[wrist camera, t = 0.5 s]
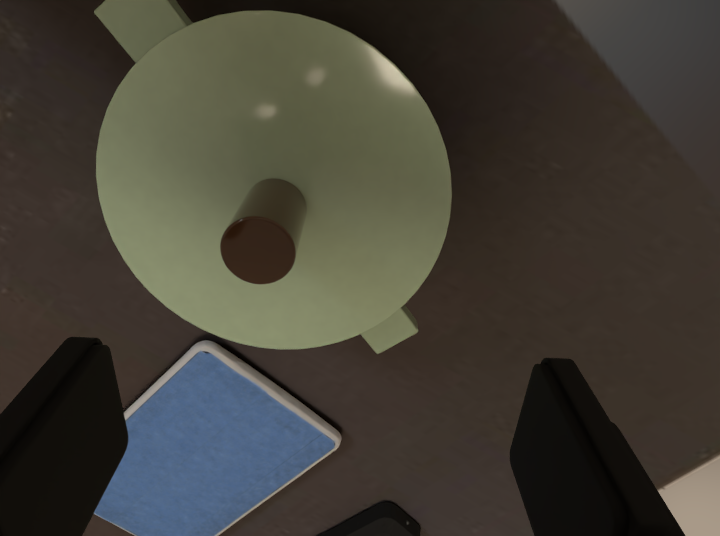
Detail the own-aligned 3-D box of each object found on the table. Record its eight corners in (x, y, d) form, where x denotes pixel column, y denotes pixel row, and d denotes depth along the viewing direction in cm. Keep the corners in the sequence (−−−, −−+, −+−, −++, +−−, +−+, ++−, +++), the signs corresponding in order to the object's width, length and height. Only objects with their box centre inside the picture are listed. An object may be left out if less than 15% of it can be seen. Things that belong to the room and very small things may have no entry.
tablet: (187, 550, 42) (182, 566, 41) (51, 477, 38) (41, 492, 37) (347, 430, 36) (347, 445, 35) (206, 328, 32) (200, 340, 30)
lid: (258, 378, 25) (235, 463, 20) (35, 154, 19) (-65, 199, 15) (505, 237, 21) (546, 300, 17) (313, -83, 16) (296, -121, 11)
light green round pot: (306, 325, 32) (292, 410, 25) (86, 76, 25) (-15, 100, 18) (483, 221, 28) (521, 286, 22) (286, -101, 21) (254, -150, 15)
